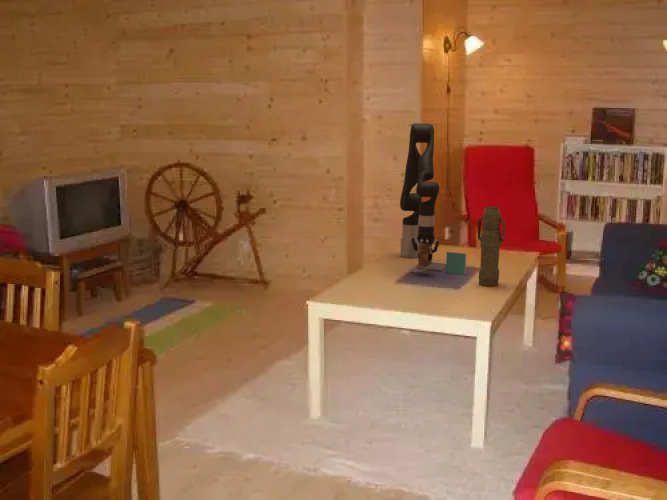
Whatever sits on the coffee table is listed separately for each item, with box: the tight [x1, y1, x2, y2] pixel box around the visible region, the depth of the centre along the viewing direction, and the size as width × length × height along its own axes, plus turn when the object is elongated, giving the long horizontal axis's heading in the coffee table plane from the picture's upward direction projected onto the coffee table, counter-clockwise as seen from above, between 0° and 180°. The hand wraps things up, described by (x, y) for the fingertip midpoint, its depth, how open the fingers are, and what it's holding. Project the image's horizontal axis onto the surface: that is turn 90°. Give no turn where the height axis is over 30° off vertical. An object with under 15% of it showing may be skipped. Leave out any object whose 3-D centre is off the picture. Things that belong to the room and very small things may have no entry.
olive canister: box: [477, 206, 506, 288], centre depth 345 cm, size 9×12×35 cm
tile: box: [445, 250, 467, 275], centre depth 369 cm, size 9×2×10 cm, turn 66°
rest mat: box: [417, 261, 446, 272], centre depth 381 cm, size 12×14×1 cm
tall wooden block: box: [417, 242, 433, 268], centre depth 363 cm, size 4×8×11 cm, turn 156°
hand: (425, 260), depth 363 cm, fingers closed on tall wooden block, 4 cm apart
